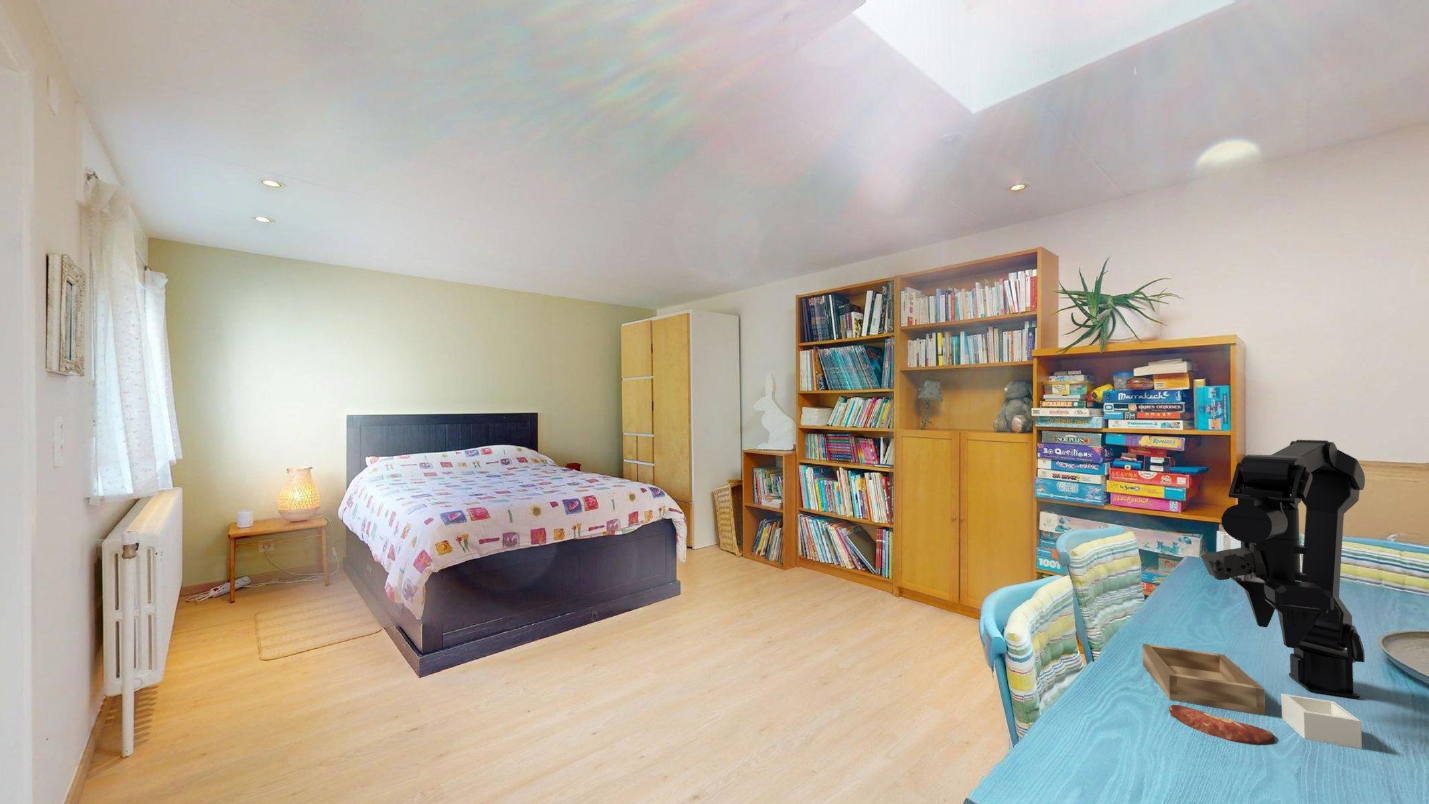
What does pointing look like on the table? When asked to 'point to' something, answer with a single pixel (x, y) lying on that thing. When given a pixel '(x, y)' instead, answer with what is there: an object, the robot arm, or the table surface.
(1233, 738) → the steak
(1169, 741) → the table surface
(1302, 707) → the cream crate
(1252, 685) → the walnut crate
